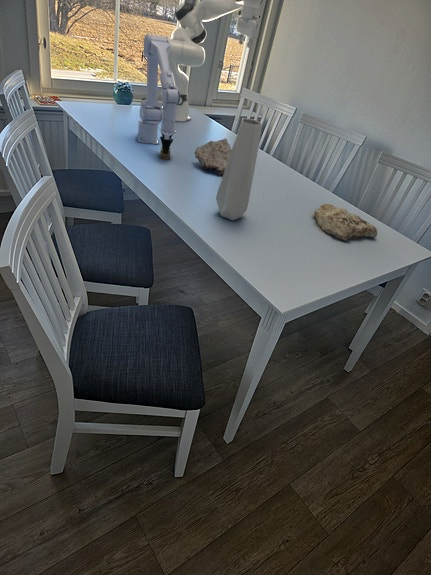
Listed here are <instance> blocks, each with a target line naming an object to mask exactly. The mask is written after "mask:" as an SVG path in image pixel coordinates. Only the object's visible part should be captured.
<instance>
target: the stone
mask: <svg viewBox="0 0 431 575" xmlns="http://www.w3.org/2000/svg"><path fill="white" fill-rule="evenodd" d="M313 216H314V219H315V220H316V223H317V226H318V227H319V228H321V230H322V231H324V232H325V233H326V234H329V235H330V236H334V237H335V238H336V239H339V240H342V241H344V242H346V241H347V240H352V239H353V240H354V239H355V240H356V239H360V238H362V237H363V238H366V237H367V238H371V239H375V238H377V236H378V229H377V227H376V226H374V225H373V224H372V223H370V222H368V221H367V220H364V219H362V217H361V216H358V214H357V215H356V214H355V213H353V214H351V213H349V212H348V209H345V208H340V207H338V206H334V205H333V204H329V203H323V204H321V205H320V207H319V209H316V210H314V214H313Z"/></svg>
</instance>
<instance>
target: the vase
mask: <svg viewBox="0 0 431 575" xmlns="http://www.w3.org/2000/svg"><path fill="white" fill-rule="evenodd" d="M262 128H263V123H261V122H260V121H259V120H256V119H252V118H246V117H243V118H241V122H240V124H239V127H238V130H237V133H236V136H235V140H234V142H233V145H232V147H231V150H232V151H231V154H230V157H229V160H228V162H227V165H226V168H225V171H224V174H223V175H222V178H221V180H220V183H219V186H218V189H217V192H216V195H215V200H216V204H217V208H218V211H219V215H220V216H221V217H222V218H224V219H228V220H230V221H236V220H238V219H240V218H242V217H243V216H244V214H245V213H246V212H247V211H248V206H249V202H250V195H251V191H252V185H253V180H254V175H255V169H256V164H257V158H258V152H259V146H260V140H261V135H262V130H263V129H262Z"/></svg>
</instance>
